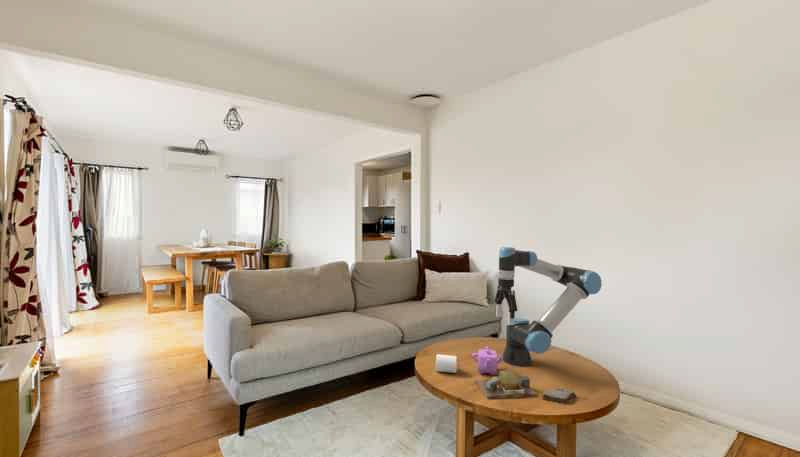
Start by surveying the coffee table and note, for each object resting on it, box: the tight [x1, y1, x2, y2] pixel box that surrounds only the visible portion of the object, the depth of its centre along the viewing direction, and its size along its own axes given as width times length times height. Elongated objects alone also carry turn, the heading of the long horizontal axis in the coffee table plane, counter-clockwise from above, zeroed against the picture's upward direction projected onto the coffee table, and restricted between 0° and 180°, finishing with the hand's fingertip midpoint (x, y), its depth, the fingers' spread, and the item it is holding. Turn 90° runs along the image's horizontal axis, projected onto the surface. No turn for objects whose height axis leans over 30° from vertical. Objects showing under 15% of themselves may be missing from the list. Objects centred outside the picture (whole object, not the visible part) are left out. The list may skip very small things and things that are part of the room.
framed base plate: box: [474, 376, 538, 400], centre depth 165 cm, size 23×15×3 cm, turn 99°
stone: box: [541, 387, 577, 405], centre depth 159 cm, size 15×8×3 cm, turn 126°
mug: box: [435, 353, 458, 374], centre depth 185 cm, size 12×10×8 cm
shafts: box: [486, 375, 531, 392], centre depth 164 cm, size 22×6×4 cm, turn 99°
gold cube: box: [498, 370, 519, 390], centre depth 165 cm, size 6×6×6 cm
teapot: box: [471, 345, 503, 376], centre depth 184 cm, size 15×13×11 cm
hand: (504, 320), depth 182 cm, fingers open, 13 cm apart
